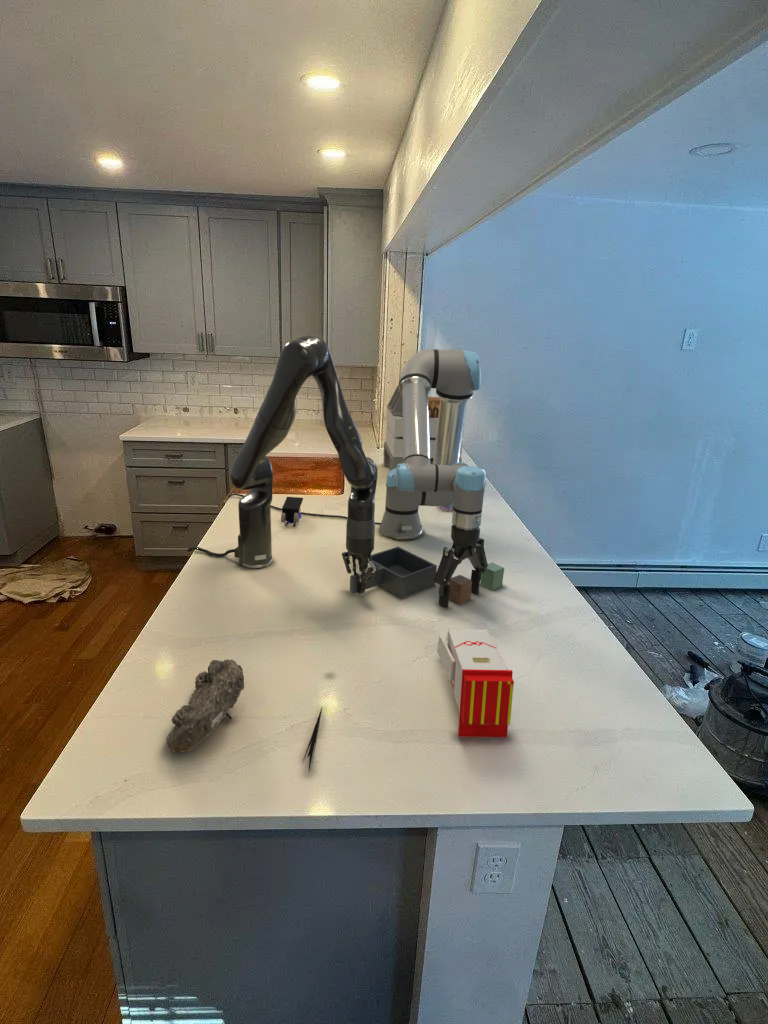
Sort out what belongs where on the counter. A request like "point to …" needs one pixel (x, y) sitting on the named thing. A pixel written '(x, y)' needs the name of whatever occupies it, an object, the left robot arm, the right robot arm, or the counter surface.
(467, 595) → the walnut block
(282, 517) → the figurine character
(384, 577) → the bin
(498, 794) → the counter surface
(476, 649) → the toy
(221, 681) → the fossil
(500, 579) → the green block
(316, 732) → the feather
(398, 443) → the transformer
